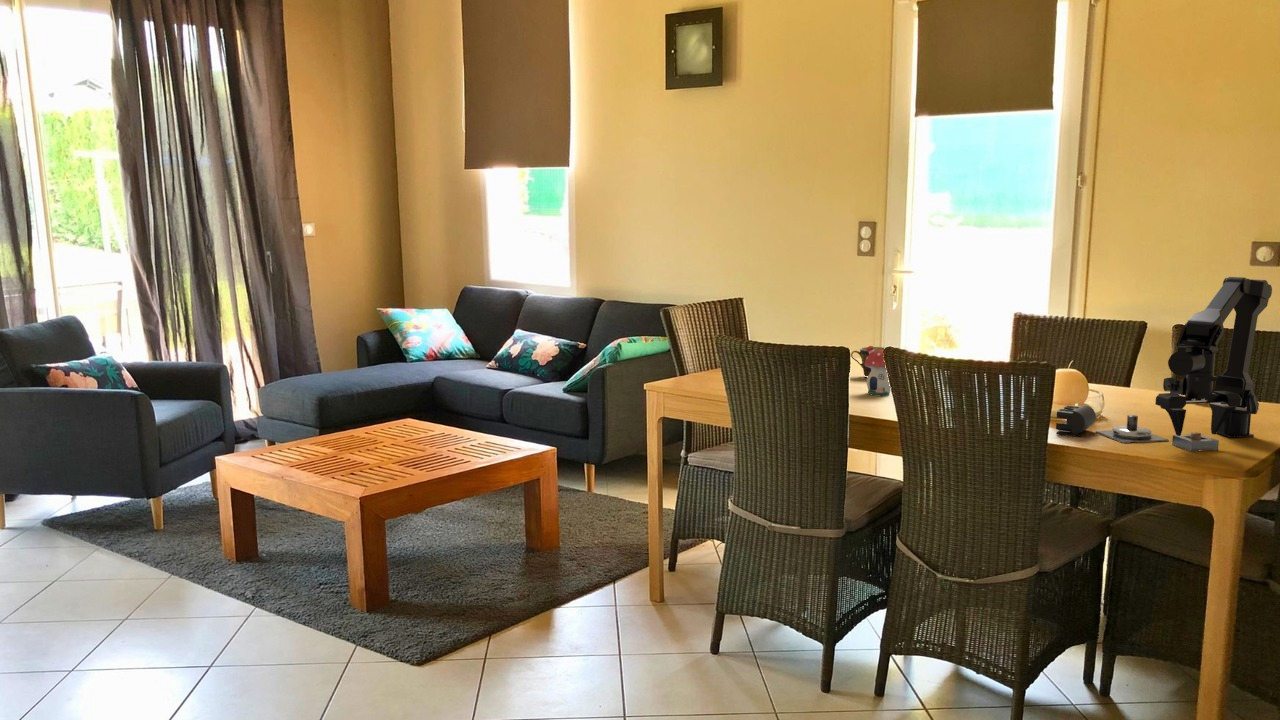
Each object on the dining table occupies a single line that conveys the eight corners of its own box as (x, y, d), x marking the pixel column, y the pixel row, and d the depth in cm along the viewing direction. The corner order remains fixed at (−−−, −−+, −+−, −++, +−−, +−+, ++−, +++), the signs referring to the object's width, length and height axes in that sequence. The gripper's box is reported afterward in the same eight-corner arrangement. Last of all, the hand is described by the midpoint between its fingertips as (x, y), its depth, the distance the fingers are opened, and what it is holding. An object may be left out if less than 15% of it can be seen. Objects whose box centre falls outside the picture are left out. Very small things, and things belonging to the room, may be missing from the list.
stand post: (1195, 446, 247) (1196, 432, 246) (1202, 448, 244) (1203, 434, 244) (1187, 446, 246) (1188, 432, 246) (1193, 448, 244) (1194, 434, 244)
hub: (1138, 430, 264) (1140, 410, 263) (1168, 441, 252) (1169, 419, 251) (1095, 432, 262) (1096, 412, 261) (1123, 443, 250) (1124, 421, 250)
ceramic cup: (887, 375, 352) (887, 346, 351) (891, 380, 342) (892, 350, 341) (849, 375, 353) (849, 346, 352) (852, 380, 343) (852, 350, 342)
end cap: (1084, 438, 256) (1085, 412, 255) (1055, 434, 261) (1056, 409, 260) (1095, 431, 264) (1096, 405, 263) (1067, 427, 268) (1068, 402, 267)
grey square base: (1198, 443, 249) (1199, 433, 249) (1218, 450, 242) (1218, 440, 242) (1172, 444, 248) (1172, 435, 248) (1191, 451, 241) (1191, 441, 241)
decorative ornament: (860, 393, 321) (861, 345, 318) (875, 390, 324) (876, 344, 322) (881, 397, 313) (882, 349, 311) (897, 395, 316) (898, 347, 314)
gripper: (1213, 364, 252) (1208, 426, 254) (1143, 367, 249) (1139, 429, 252) (1245, 371, 241) (1240, 436, 243) (1172, 374, 238) (1168, 439, 241)
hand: (1195, 434), depth 245 cm, fingers open, 9 cm apart
